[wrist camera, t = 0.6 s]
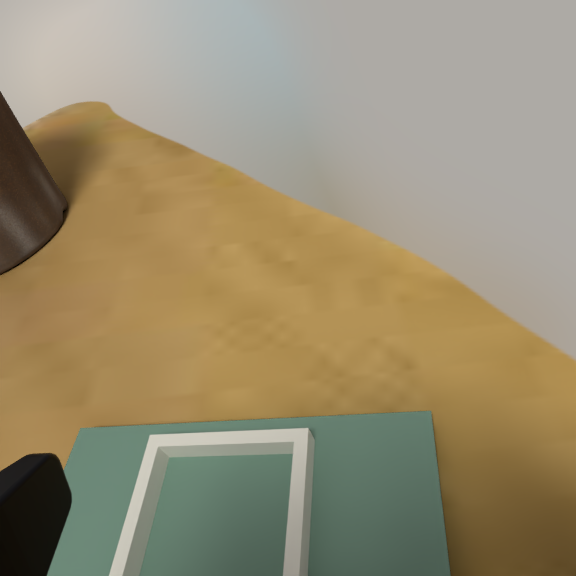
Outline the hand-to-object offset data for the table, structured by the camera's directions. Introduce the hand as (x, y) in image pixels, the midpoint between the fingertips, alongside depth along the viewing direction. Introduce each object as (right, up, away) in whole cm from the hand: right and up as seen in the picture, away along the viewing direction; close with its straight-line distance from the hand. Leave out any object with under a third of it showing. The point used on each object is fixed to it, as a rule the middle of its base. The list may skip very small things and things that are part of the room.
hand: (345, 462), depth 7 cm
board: (-4, -9, +13) cm, 16 cm away
